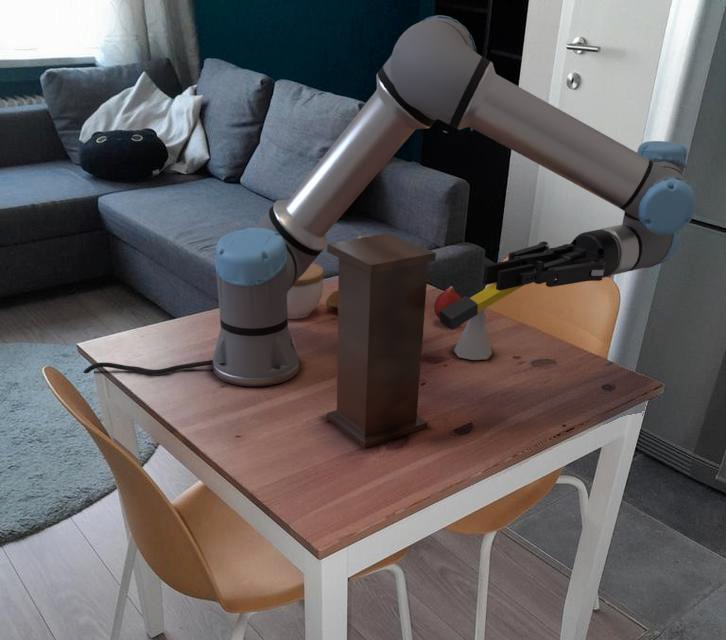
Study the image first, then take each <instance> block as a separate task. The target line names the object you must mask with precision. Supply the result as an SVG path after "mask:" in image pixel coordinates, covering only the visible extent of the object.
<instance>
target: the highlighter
mask: <svg viewBox="0 0 726 640" xmlns="http://www.w3.org/2000/svg"><path fill="white" fill-rule="evenodd" d="M496 285H497V282H496V283H492V284H490V286H488V287H486V288H484V289H482V290H481V291H479V292H478V293H475V294H474V295H472V296H471V297H469V296H467V295H465V296H463V297H460V298H461V299H459V300H458V301H456V302H454V303H453V304H451V305H449V306H447V307H446V308H444V309H442V310H440V319H439V322H440V323H441V324H442V325H444V326H445V327H447V328H448V329H449V330H451V331H453V330H454V329H455V328H458V327H459V326H461V325H462V324H464V323H467V322H468V320H469V319H471V318H473V317H474V316H476V315H478V312H480V311H482V310H483V309H485V310H486V309H487V308H489V307H490V306H492V305H494V304H495V303H497V302H499V301H500V300H502V299H504V298H505V297H507V296H509V295H510V294H513V293H514V292H515V291H517V290H519V289H520V288H522V287H524V286H525V285H522V286H518V287H513V288H509V289H505V290H501V291H499V290H497V289H496Z"/></svg>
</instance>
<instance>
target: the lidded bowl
mask: <svg viewBox="0 0 726 640" xmlns="http://www.w3.org/2000/svg"><path fill="white" fill-rule="evenodd" d="M324 276H325V270H324V268H323V267H322V266H321V265H319V264H317V263H314V262H312V263H311V265H310V266H309V268H308V269H307V270H306V272H305V273H304V274H303V275H302V276H300V277H299V279H298V280H297V281H296V282H295V283H294V285H293V286H292V287H291V289H290V290H289V291H288V292H287V311H288V319H289V320H298V319H299V320H300V319H304V318H307V317H309V316H310V315H311V314H312V312H313V311H314V310H315V309H316V308H317V307H318V305H319V304H320V301H321V299H322V296H323V290H324V289H323V288H324V278H325V277H324Z"/></svg>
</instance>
